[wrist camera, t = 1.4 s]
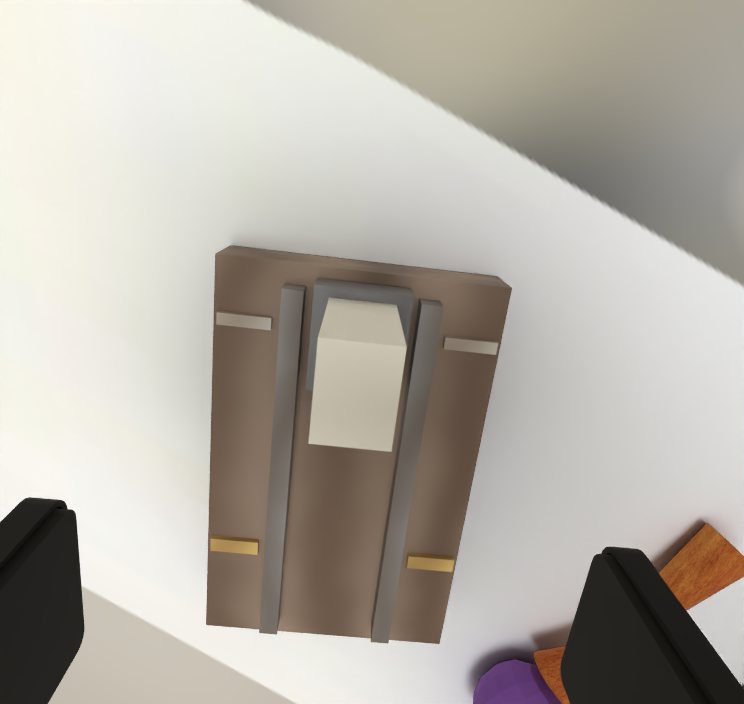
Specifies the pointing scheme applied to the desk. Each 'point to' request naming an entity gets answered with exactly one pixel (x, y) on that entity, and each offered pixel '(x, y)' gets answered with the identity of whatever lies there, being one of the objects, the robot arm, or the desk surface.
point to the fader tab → (356, 362)
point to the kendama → (543, 682)
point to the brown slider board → (341, 454)
